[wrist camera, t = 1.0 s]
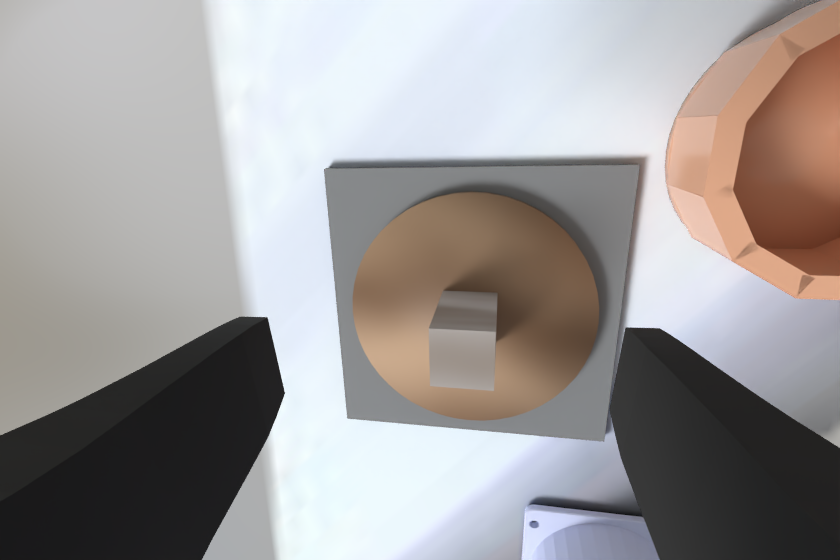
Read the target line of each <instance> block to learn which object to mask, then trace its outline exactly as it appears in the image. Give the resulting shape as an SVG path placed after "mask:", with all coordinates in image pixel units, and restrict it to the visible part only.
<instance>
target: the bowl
mask: <svg viewBox="0 0 840 560" xmlns="http://www.w3.org/2000/svg"><path fill="white" fill-rule="evenodd" d="M665 176H666V184H667V189H668V194H669V197H670V200H671V202H672V205H673V208H674V210H675V211H676V213H677V215H678V217H679V218H680V220H681V221H682V223H683V224H684V225H685V226H686V228H687V229H688V231H689V233H690V235H691V237H692V238H694V239H695V240H697V241H699V242H701V243H702V244H704V245H706V246H707V247H709V248H711V249H712V250H714V251H716V252H717V253H719V254H721V255H722V256H724V257H726V258H728V259H729V260H731V261H733V262H734V263H736V264H738V265H739V266H741V267H743V268H745V269H746V270H748V271H750V272H751V273H753V274H755V275H757V276H758V277H760V278H762V279H763V280H765V281H767V282H769V283H770V284H772V285H774V286H775V287H777V288H779V289H781V290H782V291H784V292H786V293H787V294H789V295H791V296H793V297H794V298H799V299H828V300H840V0H821V1H819V2H816V3H814V4H811V5H808V6H806V7H803V8H801V9H799V10H797V11H795V12H794V13H792V14H790V15H788V16H787V17H785V18H783V19H781V20H780V21H778V22H776V23H774V24H772V25H770V26H768V27H766V28H764V29H762V30H760V31H758V32H756V33H754V34H752V35H750V36H749V37H747V38H746V39H744V40H743V41H741V42H740V43H738V44H737V45H735V46H734V47H732V48H731V49H729V50H727V51H726V52H724V53H723V54H722V56H721V57H720V58H719V59H718V60H717V61H716V62H715V63H714V64H713V65H712V66H711V67H710V68H709V69H708V70H707V71H706V72H705V73H704V74H703V75H702V77H701V78H700V79H699V80H698V82H697V83H696V84H695V85H694V87H693V88H692V89H691V91H690V93H689V94H688V96H687V97H686V99H685V100H684V102H683V104H682V106H681V108H680V110H679V112H678V114H677V116H676V118H675V120H674V123H673V126H672V129H671V132H670V135H669V139H668V144H667V149H666V158H665Z"/></svg>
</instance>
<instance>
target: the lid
mask: <svg viewBox="0 0 840 560" xmlns="http://www.w3.org/2000/svg"><path fill="white" fill-rule="evenodd" d="M353 316H354V323H355V328H356V331H357V335H358V338H359V341H360V343H361V345H362V348H363V350H364V352H365V354H366V356H367V357H368V359H369V361H370V362H371V364H372V365H373V367H374V368H375V369H376V371H377V372H378V373H379V375H380V376H381V377H382V378H383V379H384V380H385V381H386V382H387V383H388V384H389V385H390V386H391V387H392V388H393V389H395V390H396V391H397V392H398V393H399V394H401V395H402V396H404V397H405V398H407V399H408V400H410V401H411V402H413V403H415V404H417V405H419V406H421V407H423V408H425V409H427V410H429V411H432V412H435V413H437V414H440V415H444V416H448V417H452V418H457V419H464V420H478V421H486V420H498V419H503V418H509V417H513V416H517V415H520V414H523V413H526V412H529V411H531V410H533V409H535V408H537V407H539V406H541V405H543V404H545V403H546V402H548V401H549V400H551V399H553V398H554V397H555V396H557V395H558V394H559V393H560V392H562V391H563V390H564V389H565V388H566V387H567V386H568V385H569V384H570V383H571V382H572V381H573V380H574V379H575V377H576V376H577V375H578V373H579V372H580V370H581V369H582V368H583V366H584V365H585V363H586V361H587V359H588V357H589V355H590V353H591V351H592V348H593V345H594V342H595V339H596V335H597V329H598V324H599V301H598V292H597V288H596V284H595V280H594V277H593V274H592V272H591V269H590V267H589V265H588V263H587V260H586V259H585V257H584V255H583V254H582V252H581V251H580V249H579V247H578V246H577V244H576V243H575V241H574V240H573V239H572V238H571V237H570V236H569V234H568V233H567V232H566V231H565V230H564V229H563V228H562V227H561V226H560V225H559V224H558V223H556V222H555V221H554V220H553V219H552V218H551V217H549V216H548V215H546V214H545V213H543V212H542V211H540V210H539V209H537V208H535V207H533V206H531V205H529V204H527V203H525V202H523V201H520V200H517V199H514V198H511V197H508V196H504V195H499V194H494V193H489V192H473V191H471V192H457V193H451V194H446V195H441V196H437V197H434V198H431V199H428V200H426V201H423V202H421V203H419V204H417V205H415V206H413V207H411V208H409V209H407V210H406V211H405V212H403V213H402V214H400V215H399V216H397V217H396V218H395V219H394V220H392V221H391V222H390V223H389V224H388V225H387V226H386V227H385V228H384V229H383V230H382V231H381V232H380V233H379V234H378V235H377V237H376V238H375V239H374V240H373V242H372V243H371V244H370V246H369V248H368V249H367V251H366V253H365V254H364V256H363V259H362V261H361V263H360V266H359V268H358V271H357V275H356V279H355V282H354V290H353Z"/></svg>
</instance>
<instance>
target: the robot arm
mask: <svg viewBox="0 0 840 560" xmlns="http://www.w3.org/2000/svg"><path fill="white" fill-rule="evenodd" d="M284 394H285V392H284V388H283V383H282V379H281V374H280V370H279V366H278V361H277V357H276V353H275V348H274V344H273V340H272V335H271V331H270V327H269V322H268V318H267V317H239V318H236V319H234V320H232V321H229V322H227V323H225V324H223V325H221V326H219V327H217V328H215V329H213V330H211V331H209V332H207V333H205V334H204V335H202V336H200V337H198V338H196V339H194V340H193V341H191V342H189V343H187V344H185V345H183V346H182V347H180V348H178V349H176V350H174V351H173V352H171V353H169V354H167V355H165V356H163V357H161V358H160V359H158V360H156V361H154V362H152V363H150V364H149V365H147V366H145V367H143V368H141V369H139V370H137V371H135V372H133V373H131V374H130V375H128V376H126V377H124V378H122V379H120V380H118V381H116V382H114V383H112V384H110V385H108V386H106V387H104V388H102V389H100V390H98V391H96V392H94V393H92V394H90V395H89V396H86V397H84V398H83V399H80V400H78V401H76V402H74V403H72V404H70V405H68V406H66V407H64V408H62V409H59V410H57V411H55V412H53V413H51V414H49V415H46V416H44V417H42V418H40V419H37V420H35V421H33V422H30V423H28V424H26V425H24V426H21V427H19V428H17V429H15V430H12V431H10V432H8V433H5V434H3V435H0V560H202V558H203V556H204V554H205V552H206V550H207V548H208V546H209V544H210V542H211V540H212V538H213V537H214V535H215V533H216V531H217V529H218V528H219V526H220V524H221V522H222V520H223V519H224V517H225V515H226V513H227V511H228V509H229V508H230V506H231V504H232V502H233V500H234V499H235V497H236V495H237V493H238V491H239V490H240V488H241V486H242V484H243V482H244V481H245V479H246V477H247V475H248V473H249V472H250V469H251V468H252V466H253V464H254V462H255V460H256V459H257V457H258V455H259V453H260V451H261V449H262V448H263V446H264V444H265V442H266V440H267V438H268V436H269V434H270V431H271V429H272V426H273V424H274V421H275V419H276V416H277V413H278V411H279V408H280V405H281V402H282V400H283V397H284ZM610 414H611V418H612V423H613V427H614V431H615V436H616V440H617V444H618V448H619V452H620V456H621V459H622V462H623V465H624V467H625V470H626V473H627V476H628V478H629V481H630V484H631V486H632V489H633V492H634V494H635V497H636V499H637V502H638V505H639V507H640V510H641V512H642V515H643V517H638V516H629V515H621V514H612V513H603V512H595V511H586V510H578V509H569V508H560V507H552V506H543V505H529V506H527V507H526V509H525V515H524V531H523V547H522V560H840V448H838V447H837V446H836V445H834V444H832V443H831V442H829V441H828V440H826V439H824V438H823V437H821V436H820V435H818V434H816V433H815V432H813V431H812V430H810V429H808V428H807V427H805V426H804V425H802V424H800V423H799V422H797V421H796V420H794V419H792V418H791V417H789V416H788V415H786V414H785V413H783V412H782V411H780V410H779V409H777V408H776V407H774V406H773V405H771V404H770V403H768V402H767V401H765V400H764V399H762V398H761V397H759V396H758V395H756V394H755V393H753V392H752V391H750V390H749V389H747V388H746V387H745V386H743V385H742V384H740V383H739V382H737V381H736V380H734V379H733V378H732V377H730V376H729V375H727V374H726V373H724V372H723V371H722V370H720V369H719V368H717V367H716V366H714V365H713V364H712V363H710V362H709V361H707V360H706V359H705V358H703V357H702V356H700V355H699V354H697V353H696V352H695V351H693V350H692V349H690V348H689V347H687V346H686V345H685V344H683V343H682V342H680V341H679V340H677V339H676V338H674V337H673V336H671V335H670V334H668V333H666V332H665V331H663V330H661V329H660V328H626V329H625V334H624V339H623V344H622V349H621V354H620V359H619V364H618V369H617V374H616V380H615V385H614V390H613V395H612V400H611V405H610ZM531 521H537V522H531Z"/></svg>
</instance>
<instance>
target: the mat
mask: <svg viewBox="0 0 840 560" xmlns="http://www.w3.org/2000/svg"><path fill="white" fill-rule="evenodd" d="M639 168H640V165H638V164H612V165H534V166H456V167H378V168H326V169H324V174H325V185H326V195H327V206H328V217H329V227H330V238H331V249H332V259H333V270H334V281H335V291H336V302H337V313H338V323H339V334H340V345H341V355H342V366H343V377H344V387H345V398H346V409H347V418H348V419H359V420H370V421H381V422H392V423H403V424H414V425H425V426H437V427H448V428H459V429H470V430H481V431H492V432H503V433H514V434H525V435H537V436H548V437H559V438H570V439H581V440H592V441H603V442H604V439H605V431H606V424H607V416H608V408H609V400H610V393H611V385H612V377H613V369H614V362H615V354H616V346H617V338H618V331H619V323H620V315H621V307H622V300H623V292H624V284H625V277H626V269H627V261H628V253H629V246H630V238H631V230H632V222H633V215H634V207H635V199H636V191H637V184H638V176H639ZM471 191H473V192H489V193H494V194H499V195H504V196H508V197H511V198H514V199H517V200H520V201H523V202H525V203H527V204H529V205H531V206H533V207H535V208H537V209H539V210H540V211H542V212H543V213H545V214H546V215H548V216H549V217H551V218H552V219H553V220H554V221H555V222H556V223H558V224H559V225H560V226H561V227H562V228H563V229H564V230H565V231H566V232H567V233H568V234H569V236H570V237H571V238H572V239H573V240H574V241H575V243H576V244H577V246H578V247H579V249H580V251H581V252H582V254H583V255H584V257H585V259H586V260H587V263H588V265H589V267H590V269H591V272H592V274H593V277H594V280H595V284H596V288H597V292H598V301H599V324H598V329H597V335H596V339H595V342H594V345H593V348H592V351H591V353H590V355H589V357H588V359H587V361H586V363H585V365H584V366H583V368H582V369H581V370H580V372H579V373H578V375H577V376H576V377H575V379H574V380H573V381H572V382H571V383H570V384H569V385H568V386H567V387H566V388H565V389H564V390H563V391H562V392H560V393H559V394H558V395H557V396H555V397H554V398H553V399H551V400H549V401H548V402H546V403H545V404H543V405H541V406H539V407H537V408H535V409H533V410H531V411H529V412H526V413H523V414H520V415H517V416H513V417H509V418H503V419H498V420H486V421H478V420H464V419H457V418H452V417H448V416H444V415H440V414H437V413H435V412H432V411H429V410H427V409H425V408H423V407H421V406H419V405H417V404H415V403H413V402H411V401H410V400H408V399H407V398H405V397H404V396H402V395H401V394H399V393H398V392H397V391H396V390H395V389H393V388H392V387H391V386H390V385H389V384H388V383H387V382H386V381H385V380H384V379H383V378H382V377H381V376H380V375H379V373H378V372H377V371H376V369H375V368H374V367H373V365H372V364H371V362H370V361H369V359H368V357H367V356H366V354H365V352H364V350H363V348H362V345H361V343H360V341H359V338H358V335H357V331H356V328H355V323H354V316H353V290H354V282H355V279H356V275H357V271H358V268H359V266H360V263H361V261H362V259H363V256H364V254H365V253H366V251H367V249H368V248H369V246H370V244H371V243H372V242H373V240H374V239H375V238H376V237H377V235H378V234H379V233H380V232H381V231H382V230H383V229H384V228H385V227H386V226H387V225H388V224H389V223H390V222H391V221H392V220H394V219H395V218H396V217H397V216H399V215H400V214H402V213H403V212H405V211H406V210H407V209H409V208H411V207H413V206H415V205H417V204H419V203H421V202H423V201H426V200H428V199H431V198H434V197H437V196H441V195H446V194H451V193H457V192H471Z"/></svg>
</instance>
